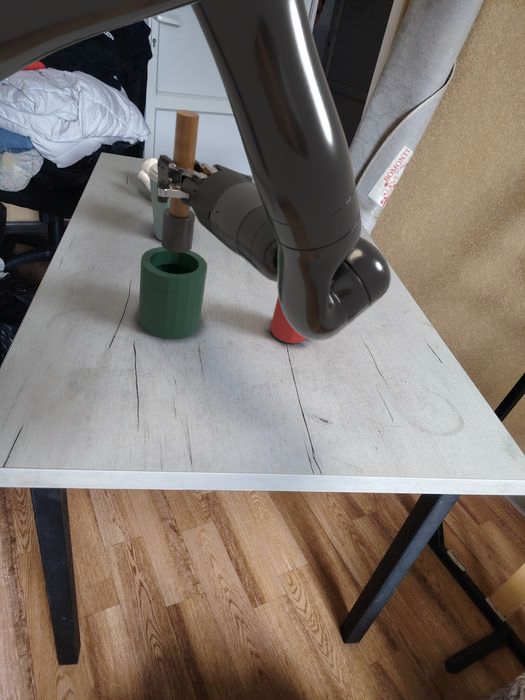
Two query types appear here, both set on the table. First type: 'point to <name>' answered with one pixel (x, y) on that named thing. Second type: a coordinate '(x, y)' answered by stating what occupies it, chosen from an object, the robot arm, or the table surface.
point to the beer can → (283, 327)
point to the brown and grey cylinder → (179, 214)
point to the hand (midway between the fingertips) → (173, 162)
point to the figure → (146, 172)
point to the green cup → (171, 292)
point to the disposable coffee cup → (156, 205)
